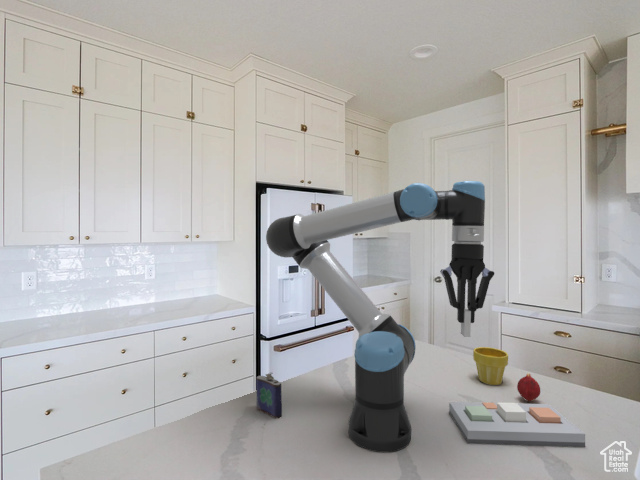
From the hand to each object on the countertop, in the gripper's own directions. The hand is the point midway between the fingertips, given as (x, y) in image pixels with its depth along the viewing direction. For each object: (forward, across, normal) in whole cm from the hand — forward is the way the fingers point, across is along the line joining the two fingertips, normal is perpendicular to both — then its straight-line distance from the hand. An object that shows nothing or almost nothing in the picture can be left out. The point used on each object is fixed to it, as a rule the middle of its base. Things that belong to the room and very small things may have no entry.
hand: (465, 335), depth 89 cm
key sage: (+21, +3, -2) cm, 22 cm away
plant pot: (+23, +18, +27) cm, 40 cm away
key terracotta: (+21, +19, -2) cm, 28 cm away
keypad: (+22, +11, -2) cm, 25 cm away
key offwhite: (+20, +11, -2) cm, 23 cm away
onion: (+23, +23, +13) cm, 35 cm away
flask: (+24, -51, +3) cm, 56 cm away
